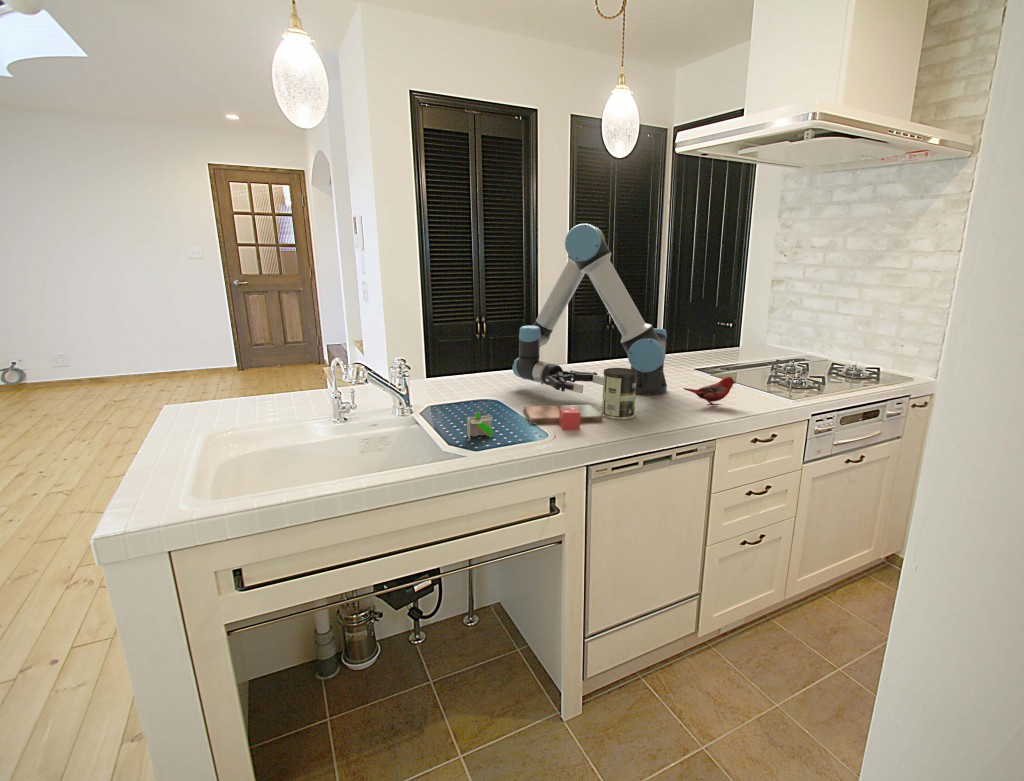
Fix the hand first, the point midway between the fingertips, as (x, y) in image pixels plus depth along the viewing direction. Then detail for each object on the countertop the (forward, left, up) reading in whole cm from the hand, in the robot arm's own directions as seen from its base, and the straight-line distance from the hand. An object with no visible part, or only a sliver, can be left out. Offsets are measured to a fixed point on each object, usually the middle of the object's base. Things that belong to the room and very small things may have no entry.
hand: (596, 385), depth 170 cm
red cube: (+13, +17, -8) cm, 23 cm away
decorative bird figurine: (-38, +1, -8) cm, 39 cm away
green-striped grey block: (+39, +22, -8) cm, 46 cm away
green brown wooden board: (+13, +7, -8) cm, 16 cm away
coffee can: (-5, +7, -8) cm, 12 cm away
